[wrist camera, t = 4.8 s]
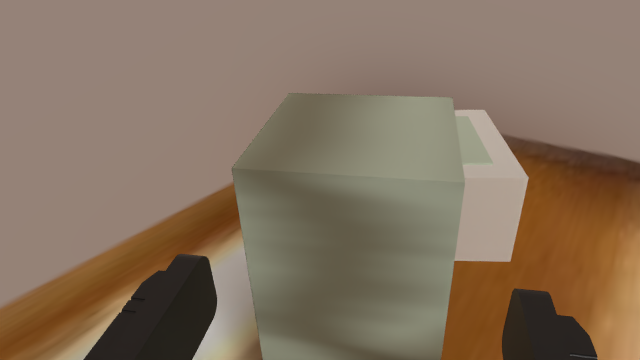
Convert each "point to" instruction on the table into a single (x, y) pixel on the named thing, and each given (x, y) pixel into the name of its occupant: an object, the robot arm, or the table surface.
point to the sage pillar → (352, 226)
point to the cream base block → (487, 190)
